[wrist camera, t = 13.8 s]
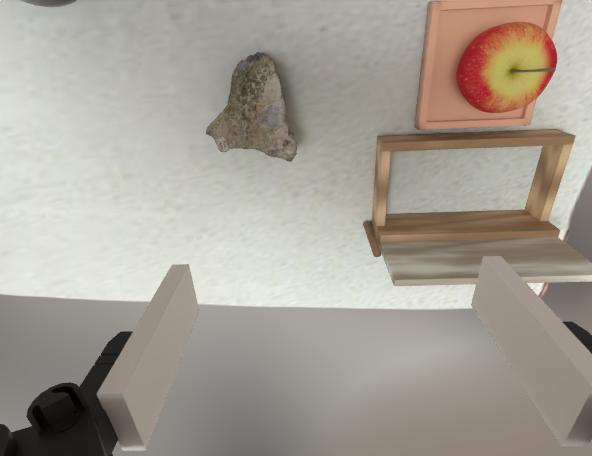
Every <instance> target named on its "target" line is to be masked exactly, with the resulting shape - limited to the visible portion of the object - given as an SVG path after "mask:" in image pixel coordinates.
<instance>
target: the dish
mask: <svg viewBox="0 0 592 456" xmlns="http://www.w3.org/2000/svg"><path fill="white" fill-rule="evenodd" d="M561 3H562V0H448V1H433V2H430V3H428V10H427V19H426V28H425V37H424V46H423V54H422V63H421V72H420V81H419V90H418V99H417V108H416V117H415V126H414V127H416V128H417V129H418V130H426V129H451V128H477V127H502V126H527V125H530V122H531V118H532V114H533V110H534V106H535V103H536V99H537V98H536V99H535V100H534V101H533V102H531V103H530V104H528V105H526V106H524V107H522V108H520V109H517V110H513V111H509V112H503V113H487V112H483V111H480V110H478V109H476V108H474V107H473V106H472V105H470V104H469V103H468V102H467V100H466V99H465V98H464V97H463V95H462V94H461V92H460V90H459V88H458V85H457V80H456V72H457V68H458V64H459V62H460V59H461V57H462V55H463V53H464V51H465V50H466V48H467V47H468V45H469V44H470V43H471V42H472V41H473V39H474V38H475V37H477V36H478V35H479V34H481V33H482V32H484V31H486V30H488V29H490V28H492V27H495V26H498V25H502V24H506V23H512V22H528V23H532V24H535V25H537V26H539V27H540V28H542V29H543V30H544V31H545V32H546V33H547V34H548V35H549V37H550V38H551V40H552V38H553V34H554V30H555V26H556V23H557V19H558V15H559V11H560V7H561Z"/></svg>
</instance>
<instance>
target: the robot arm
mask: <svg viewBox="0 0 592 456" xmlns="http://www.w3.org/2000/svg"><path fill="white" fill-rule="evenodd" d="M22 1H24V2H27V3H30V4H34V5H39V6H46V7H57V6H63V5H67V4H70V3H72V2H75V1H76V0H22ZM471 306H472V307H473V309H474V310H475V312H476V313H477V315H478V317H479V318H480V320H481V321H482V323H483V324H484V326H485V327H486V329H487V331H488V332H489V334H490V335H491V337H492V338H493V340H494V342H495V343H496V345H497V346H498V348H499V349H500V351H501V352H502V354H503V356H504V357H505V359H506V360H507V362H508V363H509V365H510V366H511V368H512V369H513V371H514V373H515V374H516V376H517V377H518V379H519V380H520V382H521V384H522V385H523V387H524V388H525V390H526V391H527V393H528V395H529V396H530V398H531V399H532V401H533V402H534V404H535V405H536V407H537V408H538V410H539V412H540V413H541V415H542V416H543V418H544V419H545V421H546V423H547V424H548V426H549V427H550V429H551V430H552V432H553V433H554V435H555V437H556V438H557V440H558V441H559V443H560V444H561V446H562V447H582V446H583V447H584V446H585V447H586V446H588V445H589V443H590V441H591V439H592V335H591V334H590V333H589V332H587V331H586V330H584V329H583V328H581V327H580V326H578V325H576V324H575V323H573V322H561V320H560V319H559V318H558V317H557V316H556V315H555V314H554V313H553V312H552V311H551V310H550V309H549V307H548V306H547V305H546V304H545V303H544V302H543V301H542V300H541V299H540V298H539V297H538V295H537V294H536V293H535V292H534V291H533V290H532V289H531V288H530V287H529V286H528V285H527V284H526V283H525V281H524V280H523V279H522V278H521V277H520V276H519V275H518V274H517V273H516V272H515V271H514V270H513V269H512V267H511V266H510V265H509V264H508V263H507V262H506V261H505V260H504V259H503V258H502V257H501V256H483V259H482V263H481V267H480V271H479V275H478V279H477V283H476V288H475V292H474V296H473V300H472V304H471ZM198 313H199V308H198V304H197V299H196V295H195V290H194V286H193V281H192V277H191V272H190V268H189V264H185V265H172V266H171V268H170V269H169V271H168V273H167V275H166V276H165V278H164V280H163V281H162V283H161V285H160V286H159V288H158V290H157V292H156V293H155V295H154V297H153V298H152V300H151V302H150V304H149V305H148V307H147V309H146V310H145V312H144V314H143V316H142V318H141V319H140V321H139V323H138V324H137V326H136V327H135V329H134V331H132V332H120V333H119V334H117V335H116V336H115V337H114V338H113V339H112V340H110V341H109V342H108V344H107V345H106V347H105V348H104V350H103V352H102V353H101V356H99V358H98V359H97V361H96V362H95V366H93V367H92V368H91V370H90V372H89V373H88V375H87V376H86V378H85V379H84V381H83V383H82V384H81V385H80V387H78V385H77V384H74V383H61V384H58V385H55V386H53V387H51V388H49V389H48V390H46V391H44V392H42V393H41V394H40V395H39V396H38V397H37V398H36V399H35V400H34V401H33V402H32V404H31V405H30V407H29V408H28V412H27V418H28V420H29V421H30V423H31V425H32V427H28V428H25V429H21V430H18V431H15V432H10V430H9V429H8V428H7V427H6V426H5V425H3V424H0V456H113V454H112V451H113V449H114V447H115V445H116V443H117V441H118V442H119V444H120V446H121V448H122V450H123V451H131V450H132V451H134V450H146V449H147V446H148V443H149V441H150V438H151V435H152V433H153V431H154V428H155V425H156V423H157V420H158V417H159V415H160V412H161V410H162V407H163V404H164V402H165V399H166V396H167V394H168V391H169V389H170V386H171V383H172V381H173V378H174V376H175V373H176V371H177V368H178V365H179V362H180V360H181V357H182V355H183V352H184V349H185V347H186V345H187V342H188V339H189V337H190V334H191V331H192V329H193V326H194V323H195V321H196V318H197V316H198Z"/></svg>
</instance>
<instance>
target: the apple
mask: <svg viewBox="0 0 592 456" xmlns="http://www.w3.org/2000/svg"><path fill="white" fill-rule="evenodd" d="M556 64H557V53H556V49H555V46H554V44H553V42H552V40H551V38H550V37H549V35H548V34H547V33H546V32H545V31H544V30H543V29H542V28H540V27H539V26H537V25H535V24H532V23H528V22H512V23H506V24H502V25H498V26H495V27H492V28H490V29H488V30H486V31H484V32H482V33H481V34H479V35H478V36H477V37H475V38H474V39H473V41H472V42H471V43H470V44H469V45H468V47H467V48H466V50H465V51H464V53H463V55H462V57H461V59H460V62H459V64H458V68H457V72H456V80H457V85H458V88H459V90H460V92H461V94H462V95H463V97H464V98H465V99H466V100H467V102H468V103H469V104H470V105H472V106H473V107H474V108H476V109H478V110H480V111H483V112H487V113H503V112H509V111H513V110H517V109H520V108H522V107H524V106H526V105H528V104H530V103H531V102H533V101H534V100H535V99H536V98H537V97H538V96H539V95H540V94H541V93H542V91H543V90H544V89H545V87H546V86H547V84H548V83H549V81H550V79H551V77H552V75H553V73H554V71H555V68H556Z"/></svg>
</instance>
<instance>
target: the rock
mask: <svg viewBox="0 0 592 456" xmlns="http://www.w3.org/2000/svg"><path fill="white" fill-rule="evenodd" d="M274 65H275V63H274V61H270V58H269V57H268V55H266V54H264V53H259V52H258V53H256V54H255V55H254V56H252V55H250V56H249V57H248V58H247V59H246V60H242V61H241V62H240V63H238V65H237V67H236V69H235V71H234V73H233V75H232V82H231V91H230V96H229V100H228V105H227V107H226V108H225V109H224V111H223V112H222V113H220V114H219V115H218V117H217V118H216V119H215V120H214V121H213V122H212V123H211V124H210V126H208V128H207V131H206V134H208V135H210V136H212V137H213V138H214V139H215V141H216V144H217V146H218V149H219V150H220V151H221V152H227V151H228V150H229V149H231V148H243V149H256V150H260V151H262V152H264V153H265V154H267V155H269V156H271V157H277V158H283V159H285V160H287V161H292V160H293V158H294V157H295V155H296V154H297V153H296V151H297V143H296V141H295V139H294V137H293V131H292V128H291V127H290V126H289V124H288V122H287V119H286V114H285V111H286V104H285V99H284V95H283V92H282V87H281V84H280V80H279V77H278V75H277V72H276V71H275V67H274Z"/></svg>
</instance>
